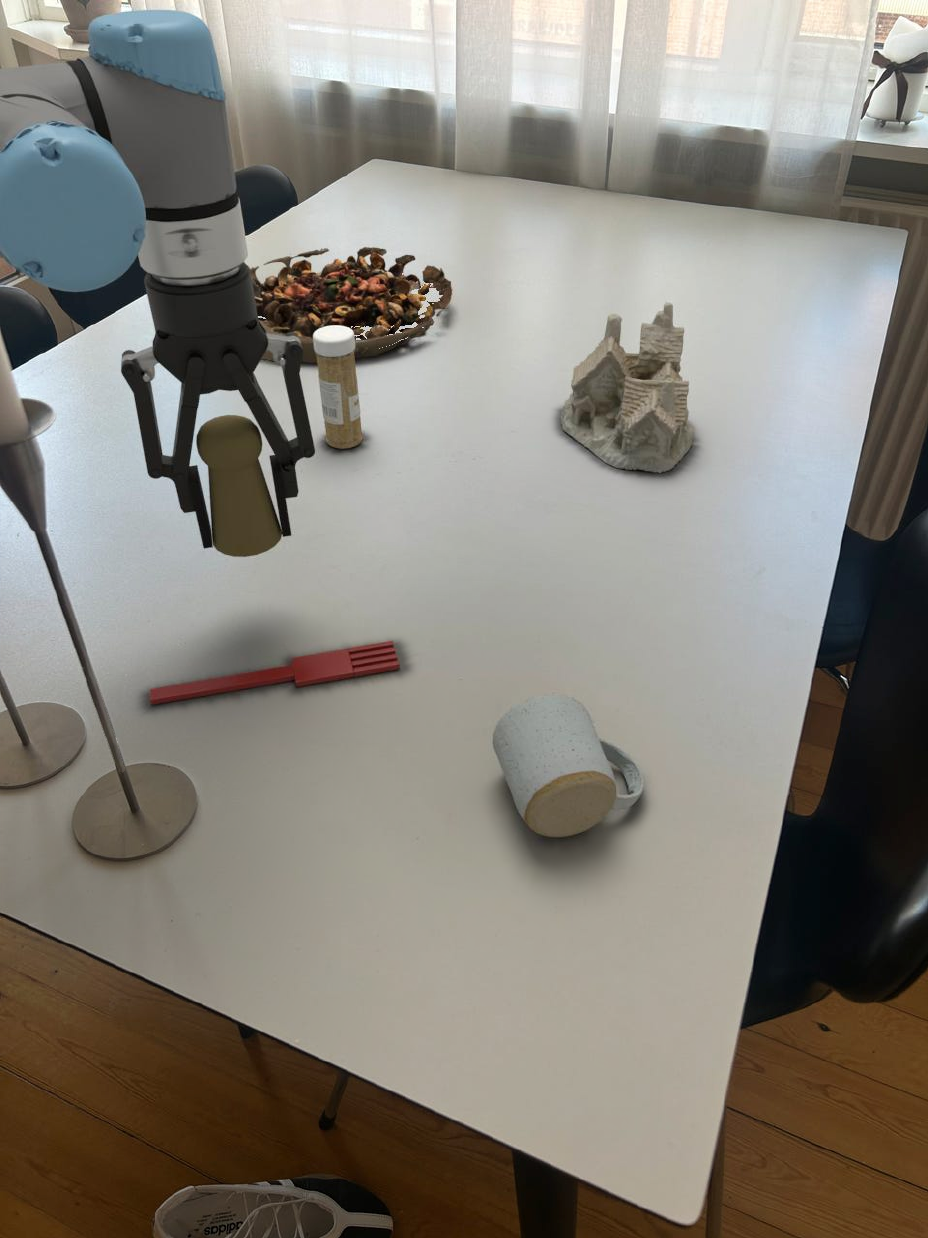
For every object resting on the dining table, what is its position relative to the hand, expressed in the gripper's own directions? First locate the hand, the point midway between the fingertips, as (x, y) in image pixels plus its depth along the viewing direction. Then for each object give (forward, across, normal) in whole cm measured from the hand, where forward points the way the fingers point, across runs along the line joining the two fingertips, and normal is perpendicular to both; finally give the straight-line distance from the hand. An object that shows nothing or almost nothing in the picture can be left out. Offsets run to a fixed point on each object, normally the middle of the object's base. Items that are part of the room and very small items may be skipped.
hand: (246, 532), depth 84 cm
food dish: (+9, +16, +67) cm, 70 cm away
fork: (+9, 0, -9) cm, 13 cm away
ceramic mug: (+9, +21, -27) cm, 36 cm away
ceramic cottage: (+9, +44, +23) cm, 51 cm away
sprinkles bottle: (+9, +12, +30) cm, 34 cm away
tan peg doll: (+1, 0, 0) cm, 1 cm away
